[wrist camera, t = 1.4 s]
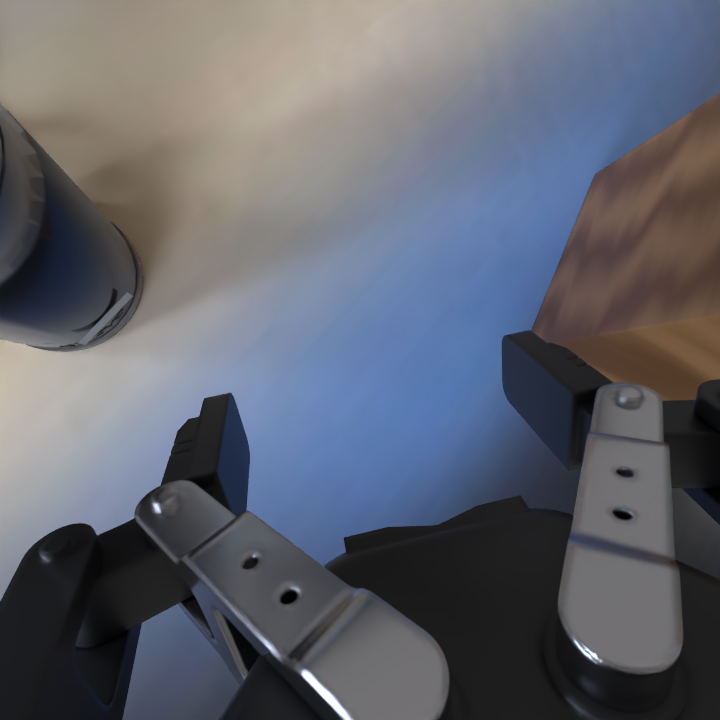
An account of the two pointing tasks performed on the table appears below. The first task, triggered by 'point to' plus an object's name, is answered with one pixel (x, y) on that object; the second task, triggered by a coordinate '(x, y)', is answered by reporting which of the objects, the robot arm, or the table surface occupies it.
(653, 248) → the oven stand
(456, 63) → the table surface
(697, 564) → the table surface
